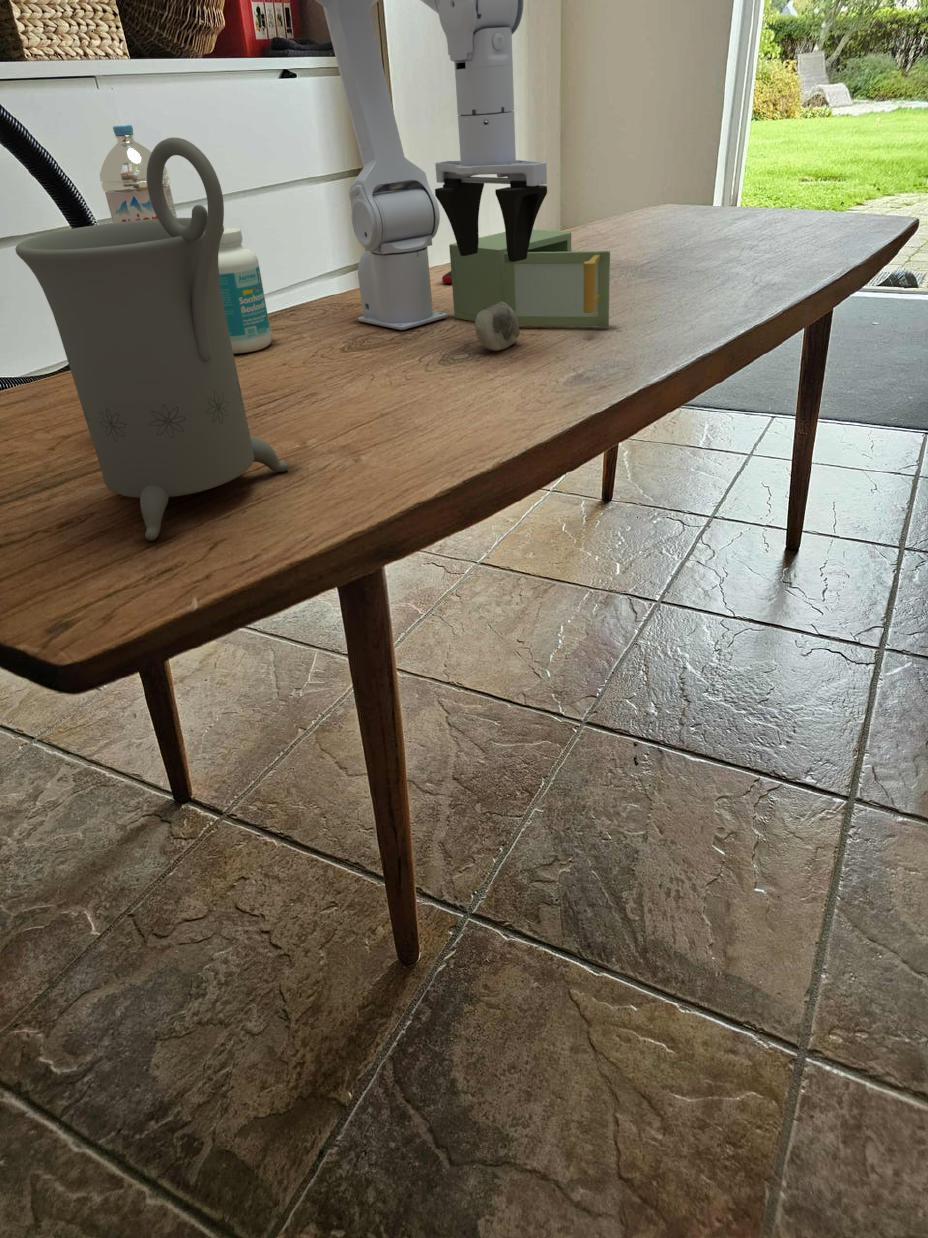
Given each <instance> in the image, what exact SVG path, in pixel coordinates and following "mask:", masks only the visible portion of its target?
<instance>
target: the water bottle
mask: <svg viewBox="0 0 928 1238" xmlns="http://www.w3.org/2000/svg"><path fill="white" fill-rule="evenodd" d="M112 130H113V133H114V138H116V140H117V142H116V144H115V145H114V146H113V147H112V148H111V150H109V152H108V154H107V155H106V157H105V158H104V161H103V163H102V166H101V168H100V172H99V181H100V182H101V188H102V191H103V192H104V195H105V198H106V201H107V206H108V210H109V213H110V217H111V220H112V223H117V222H126V221H136V220H148V219H158V218H157V216H156V214H155V212H154V209H153V207H152V204H151V201H150V197H149V193H148V187H147V166H148V161H149V158H150V155H151V153H152V151H151V150H149V149H148V148H147V147H145V146H144V145H143V144H140V143H139V142H137V141H136V140H135V138H134V136H135V134H134V129H133V125H132V124H125V125H114V126H112ZM170 184H171V179H170V177H169V171H168V169H167V167H166V165H165V166H164V170H163V190H164V195H165V199H166V201H167V204H168V207H169V209H170V211H171V213H172V214H173V216H174V218H178V216H177V211H176V207H175V203H174V199H173V194H172V190H171V185H170Z"/></svg>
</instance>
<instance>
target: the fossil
mask: <svg viewBox="0 0 928 1238" xmlns="http://www.w3.org/2000/svg"><path fill="white" fill-rule="evenodd" d="M474 330H475V334H476V338H477V340H478V341H479V343H480V344H481V345H482V346H483V347H484V348H486V349H487V350H490V351H495V352H498V351H503V350H505V349H507V348H509V347H510V346H512V345H513V344H516V340H517V339H518V338H519V337H520V326H519V323H518V319H517V316H516V314H515V312H514V311H513V310H512V309H511V307H510V306H509V305H508V304H506V303H505V302H502V301H499V302H497V303H495V304H492V305H490V306H488V307H485V308H484V309H483V310H481V311H480V312H479V313H478V314H477V317H476V320H475V322H474Z"/></svg>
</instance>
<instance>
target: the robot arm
mask: <svg viewBox="0 0 928 1238" xmlns="http://www.w3.org/2000/svg"><path fill="white" fill-rule="evenodd" d="M379 1H380V0H315V2H317V3H318V4H319V5H320V6H322V8H323V12H324V16H325V17H324V18H325V21H326V24H327V29H328V32H329V36H330V40H331V45H332V49H333V52H334V55H335V60H336V64H337V67H338V71H339V76H340V80H341V84H342V87H343V91H344V92H343V93H344V95H345V99H346V104H347V107H348V112H349V115H350V119H351V122H352V126H353V127H352V128H353V130H354V131H353V132H354V135H355V139H356V142H357V146H358V150H359V154H360V159H361V162H362V165H363V168H362V169H361V171H360V172H359V174H358V175H357V176H356V178H355V179H354V181H352V183H351V185H350V188H349V190H348V194H349V195H348V196H349V201H350V207H351V224H352V229H353V233H354V235H355V238H356V240H357V241H358V242H359V244H360V245H361V246H362V247H363V249H365V251H364V252H363V253H362V255H361V256H360V258H359V261H358V266H357V278H358V286H359V294H360V302H361V309H362V310H361V311H362V316H359V317H357V320H358V322H362V323H366V324H371V325H376V326H380V327H385V328H390V329H394V330H399V331H405V330H409V329H412V328H414V327H419V326H422V325H425V324H428V323H429V324H430V323H433V322H436V321H439V320H442V319H446V318H448V313H447V312H440V311H435V310H433V309H434V307H433V297H432V285H431V274H430V264H429V263H430V261H429V251H428V247H430V246H433V239H434V238H435V237H436V235H437V233H438V230H439V226H440V222H441V221H440V220H441V218H440V217H441V214H440V208H439V203H440V206H441V207H442V209H443V210H444V212H445V215H446V217H447V219H448V221H449V225H450V227H451V230H452V232H453V235H454V238H455V243H457V245H458V249H459V252H460V255H461V256H467V255H472V254H476V253H477V252H478V243H479V238H480V236H479V216H480V215H479V214H480V205H481V200H482V195H483V191H484V186H485V184H497V185H498V184H499V185H509V186H506V187H501V188H497V189H495V191H494V193H495V196H496V198H497V202H498V204H499V208H500V211H501V215H502V219H503V224H504V230H505V231H504V232H506V245H507V253H508V258H509V262H516V261H520V260H524V259H526V258H527V253H528V248H529V243H530V238H531V234H532V230H533V229H534V225H535V223H536V219H537V217H538V213H539V212H540V211H539V210H540V209H541V207H542V204H543V202H544V200H545V198H546V197H547V194H548V186H547V185H546V184H547V183H548V181H547V180H548V179H547V178H548V177H547V171H548V170H547V169H548V168H547V161H546V162H545V161H531V160H521V159H517V155H516V150H517V149H516V124H515V96H514V95H515V93H514V66H513V65H514V64H513V63H514V62H513V60H514V59H513V37H512V36H513V35H514V34H515V33H516V31H517V30H518V28H519V26H520V24H521V21H522V17H523V13H524V2H525V0H420V1H421V2H422V3H424V4H425V5H426V6H427V7H428V8H430V9H431V10H433V11H434V12H435V13H437V14H438V18H439V23H440V25H441V29H442V30H443V31H442V32H443V33H444V35H445V39H446V43H447V44H446V45H447V55H448V56H449V59H450V61H451V62H453V63H454V77H455V95H456V110H457V125H458V143H459V158H460V160H446V161H441V162H440V161H439V162H435V163H434V165H435V176H436V177H435V180H436V183H439V184H442V187H438V188H435V189H434V193H433V191H432V189H431V187H430V185H429V182H428V178H427V173H426V172H425V171H424V170H423V169H422V168H420V167H419V166H418V165H417V164H415V163H413V162H412V161H410V160H409V159H407V158H406V157H405V153H404V149H403V145H402V141H401V136H400V132H399V129H398V124H397V120H396V116H395V112H394V107H393V103H392V99H391V95H390V90H389V87H388V83H387V79H386V73H385V70H384V66H383V62H382V58H381V54H380V49H379V45H378V41H377V36H376V33H375V29H374V25H373V24H374V23H373V21H372V15H371V10H372V7H373V5H375V4H376V3H378V2H379ZM479 175H481V176H479ZM482 175H484V176H482ZM485 175H496V177H494V176H493V177H490V176H488V177H487V176H485ZM438 202H439V203H438Z"/></svg>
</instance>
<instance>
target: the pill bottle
mask: <svg viewBox="0 0 928 1238" xmlns="http://www.w3.org/2000/svg"><path fill="white" fill-rule="evenodd" d="M242 243H243V235H242V230H241V229H240V228H238V227H237V228H235V227H229V228H228V227H227V228H224V232H223V235H222V237H221V241H220V245H219V252H218V268H219V278H220V288H221V294H222V300H223V305H224V311H225V315H226V320H227V325H228V330H229V335H230V340H231V345H232V350H233V355H236V354H237V355H238V354H247V353H253V352H256V351H260V350H263V349H265V348H267V347H268V346H269V345H270V344H271V342H272V339H273V338H272V331H271V326H270V325H271V324H270V319H269V314H268V309H267V304H266V303H267V302H266V298H265V292H264V287H263V286H264V285H263V280H262V275H261V267H260V263H259V258H258V256H257V255H256V253H255V252H254V251H252V250H251V249H249V248H245V247H244V246H243V245H242Z"/></svg>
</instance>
